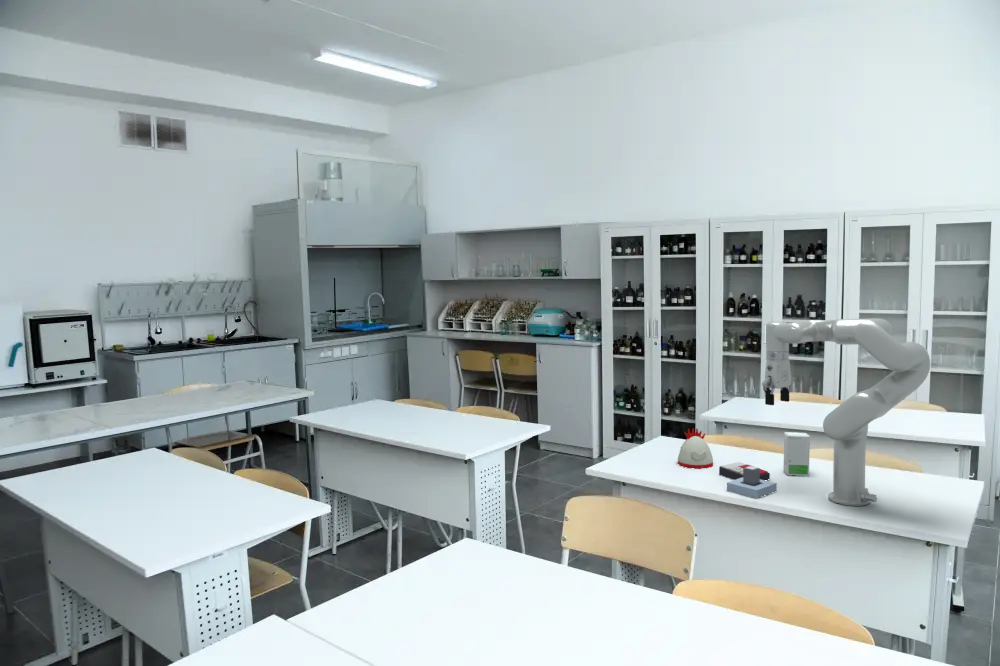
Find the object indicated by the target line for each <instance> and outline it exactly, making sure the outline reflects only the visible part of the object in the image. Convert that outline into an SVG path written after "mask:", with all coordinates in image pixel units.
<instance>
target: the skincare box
mask: <svg viewBox="0 0 1000 666" xmlns="http://www.w3.org/2000/svg"><path fill="white" fill-rule="evenodd" d="M783 434H784V435H783V436H784V438H783V469H782V471H783V472H784V473H785V475H787V476H792V475H796V477H809V476H810V453H811V452H810V446H811V443H810V441H811V436H810V435H809V434H808V433H806V432H796V431H795V432H790V431H789V432H788V431H785V432H783Z"/></svg>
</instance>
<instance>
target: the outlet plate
mask: <svg viewBox="0 0 1000 666" xmlns="http://www.w3.org/2000/svg"><path fill="white" fill-rule="evenodd" d="M777 487H778V486H777V483H776V482H773V481H769V480H767V481H765V480H761V479H760V485H757V486H751V485H747V484H743V477H742V478H739V479H736V480H734V479H732V480H730V481H727V482H726V491H727V492H730V493H734V494H738V495H741V496H744V497H745V496H746V497H748V496H750V498H752V497H754V498H753V499H756V498H758V499H760V498H762V497H761V496H763V497H765V496H764V495H766V494H769V493H771V494H773V493H772V492H774V493H776V492H775V491H777ZM769 495H770V494H769ZM766 496H767V495H766ZM759 497H760V498H759Z"/></svg>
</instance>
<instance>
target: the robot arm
mask: <svg viewBox="0 0 1000 666" xmlns="http://www.w3.org/2000/svg"><path fill="white" fill-rule="evenodd" d="M765 325H766V326H765V328H766V329H765V330H766V331H765V338H766V339H765V342H766V345H765V346H766V349H765V353H766V354H765V358H766V359H765V360H766V363H765V371H764V380H763V381H762V383H761V385H762V389H763V391H764V401H765V405H766V406H774V405H775V394H774V392H775V390H776V389H778V390H779V389H780V394H779V396H780V399H779V400H780V402H784V403H785V402H787V403H788V402H790V391H791V386H792V381H793V378H792V370H791V362H790V358H789V355H790V354H789V353H790V349H789V348H790V347H789V346H790V344H794V345H796V344H797V345H798V344H803V343H807V342H808V343H809V342H832V343H836V344H837V345H840V346H841V345H844V346H846V345H847V346H848V345H859V346H860V347H861V348H862V349H864V350H865V351H866V352H867V354H869V355H871V357H872V358H874V359H875V360H877V361H878V362H879V363H880V364H882V365H883V366H884V367H885V368H887V369H888V370H890V371H891V372H890V373H889V374H888V375H886V376H885V377H884V378H882V379H881V380H880V381H879V382H877V383H876V384H874V385H873V386H871V387H869V388H868V389H865V390H861V391H858V392H856V393H855V394H853V395H851V396H850V397H849V398H847V399H846V400H844V401H843V402H842V403H841V404H839V405H838V406H836V407H835V408H834V409H833V410H832V411H830V412H829V413H827V415H826V416H825V418H824V419H823V422H822V428H823V432H824V433H825V435H826V436H827V437H828V438H829V439H832V440H834V442H833V467H832V468H833V469H832V470H833V474H832V475H833V476H832V477H833V479H832V481H833V482H832V483H833V485H832V486H833V489H832V491H831V492H829V493H828V496H827V498H828V499H829V500H830V501H831V502H833V503H836V504H838V503H839V505H843V506H851V507H861V506H862V507H863V506H867V505H869V504H870V503H871V502H873V503H876V502H877V501H878V497H877V495H876V494H874V493H870V492H869V488H866V453H867V452H866V450H867V449H866V447H867V446H866V445H867V444H866V443H867V436H868V432H869V431H868V430H869V424H870V423H872V422H873V421H874V420H877V419H879V418H882V417H883V416H885V415H887V413H888V412H889V411H891V410H892V409H893V408H894V407H896V406H897V405H898V404H900V403H901V402H903V401H904V400H905V399H906V398H907V397H909V396H910V395H911V394H912V393H914V392H916V391H917V389H918V388H920V387H921V385H923V383H924V382H925V381H926V379H927V377H928V376H929V373H930V370H931V359H930V355H929V353H928V350H927V349H926V348H925V346H924V345H922V344H920V343H918V342H915V341H914V342H913V341H906V342H900V341H898V340H897V339H895V338H894V336H893V333H894V329H893V326H892V323H890V322H889V321H888V320H886V319H884V318H877V317H876V318H871V317H870V318H840V319H839V318H838V319H836V318H835V319H825V320H824V319H823V320H819V319H817V320H814V319H813V320H800V321H795V322H787V321H770V322H768V323H766V324H765Z"/></svg>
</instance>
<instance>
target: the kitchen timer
mask: <svg viewBox="0 0 1000 666" xmlns="http://www.w3.org/2000/svg"><path fill="white" fill-rule="evenodd" d="M702 432H703V431H702V430H700V431H699V429H698V428H696V429H695V428H692V430H690V428H688V429H687V433H686V431H684V435H685V437H686V440H684V441H683V444H682V445H681V446H680V450H679V453H678V457H677V465H678V464H679V465H680V467H681V466H683V468H685V467H687V468H686V469H690V468H694V469H693V470H703V469H702V468H706V469H710V468H712V467H713V466H714V459H713V454H712V451H711V449H710V447H709V445H708V443H707V442H706V441H705V440H704V438H705V436H706V433H703V435H702ZM679 465H678V466H679ZM709 467H710V468H709Z"/></svg>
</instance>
